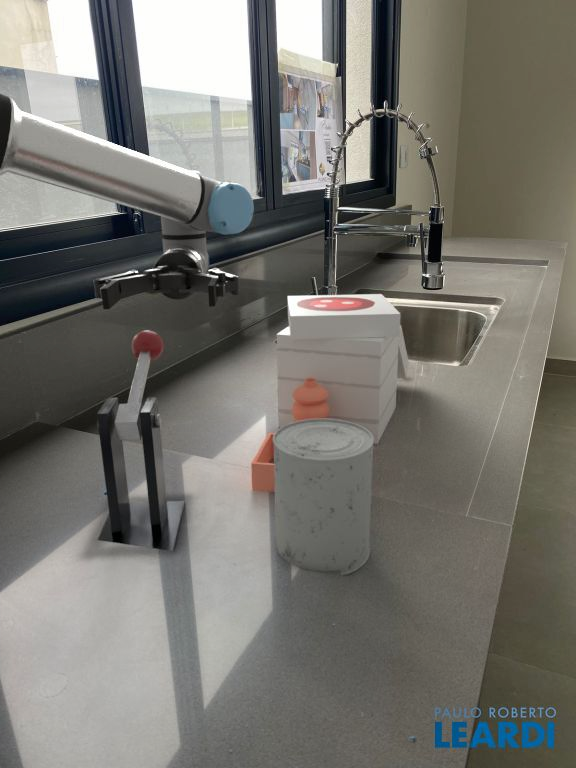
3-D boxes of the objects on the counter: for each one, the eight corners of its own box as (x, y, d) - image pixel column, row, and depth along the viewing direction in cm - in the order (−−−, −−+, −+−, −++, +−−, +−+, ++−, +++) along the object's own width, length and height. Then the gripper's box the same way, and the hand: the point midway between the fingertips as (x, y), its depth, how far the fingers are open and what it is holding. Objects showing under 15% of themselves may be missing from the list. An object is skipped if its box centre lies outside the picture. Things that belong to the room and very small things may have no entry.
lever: (136, 349, 72) (131, 324, 70) (166, 349, 72) (163, 323, 70) (112, 445, 60) (105, 418, 57) (149, 444, 60) (143, 417, 57)
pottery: (332, 502, 70) (332, 423, 67) (252, 495, 72) (249, 418, 68) (347, 439, 86) (348, 374, 83) (282, 435, 88) (281, 371, 85)
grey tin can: (264, 532, 64) (261, 425, 60) (347, 516, 67) (350, 413, 63) (291, 587, 55) (290, 466, 51) (386, 567, 58) (391, 450, 54)
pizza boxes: (418, 384, 109) (424, 284, 103) (388, 452, 82) (394, 322, 76) (316, 374, 115) (316, 279, 109) (257, 435, 88) (254, 313, 82)
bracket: (114, 512, 68) (99, 389, 64) (185, 509, 69) (175, 386, 64) (91, 565, 59) (71, 425, 54) (173, 562, 59) (161, 423, 54)
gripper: (257, 293, 99) (256, 323, 79) (104, 297, 99) (64, 328, 78) (255, 247, 97) (254, 265, 77) (98, 250, 96) (56, 270, 76)
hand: (158, 297), depth 78 cm, fingers open, 13 cm apart
